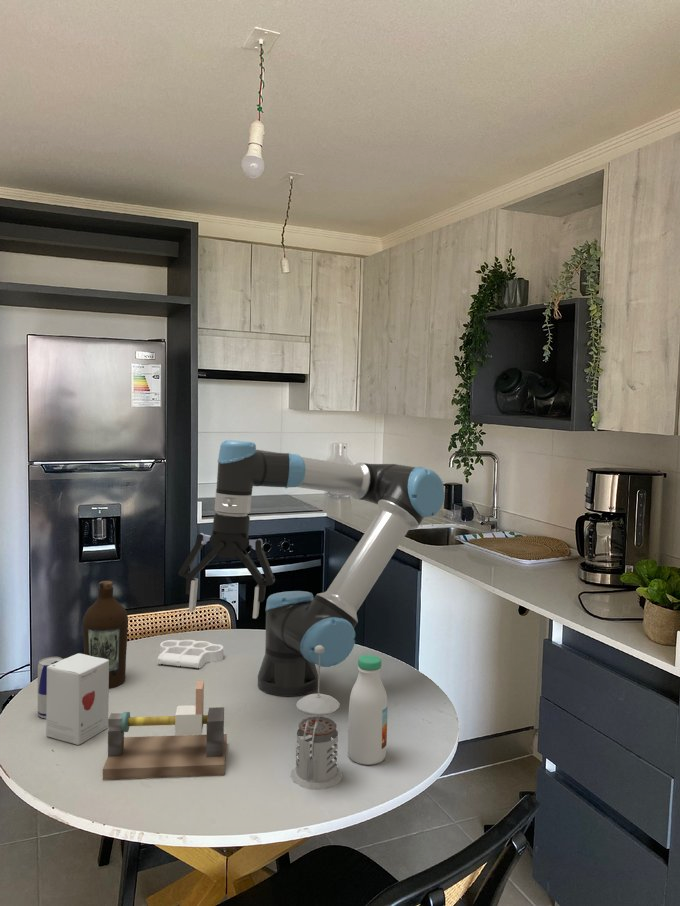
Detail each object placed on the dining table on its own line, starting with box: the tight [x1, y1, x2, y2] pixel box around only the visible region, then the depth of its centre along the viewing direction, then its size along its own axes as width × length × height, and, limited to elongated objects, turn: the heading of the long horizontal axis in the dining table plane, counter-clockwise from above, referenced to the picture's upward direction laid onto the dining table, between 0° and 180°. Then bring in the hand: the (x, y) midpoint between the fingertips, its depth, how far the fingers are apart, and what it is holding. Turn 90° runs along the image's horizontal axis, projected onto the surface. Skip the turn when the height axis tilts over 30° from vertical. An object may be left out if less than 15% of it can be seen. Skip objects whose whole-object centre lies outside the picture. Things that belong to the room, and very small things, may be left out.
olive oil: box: [82, 580, 129, 689], centre depth 168 cm, size 11×11×25 cm
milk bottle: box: [347, 654, 388, 766], centre depth 135 cm, size 8×8×20 cm
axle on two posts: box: [102, 706, 228, 781], centre depth 132 cm, size 22×12×10 cm, turn 97°
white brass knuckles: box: [156, 639, 224, 669], centre depth 185 cm, size 3×18×15 cm
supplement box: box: [45, 652, 110, 746], centre depth 142 cm, size 9×9×15 cm
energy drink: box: [37, 656, 64, 720], centre depth 150 cm, size 5×5×12 cm
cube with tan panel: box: [174, 680, 205, 736], centre depth 132 cm, size 5×4×9 cm
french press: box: [289, 645, 343, 790], centre depth 127 cm, size 10×12×25 cm
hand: (223, 613), depth 144 cm, fingers open, 13 cm apart
